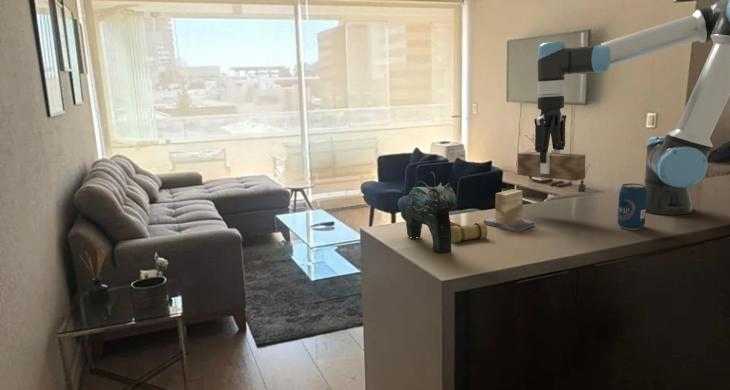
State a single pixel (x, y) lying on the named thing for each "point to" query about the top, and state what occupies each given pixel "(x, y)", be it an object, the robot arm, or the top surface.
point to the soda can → (632, 206)
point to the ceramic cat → (431, 213)
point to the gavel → (467, 232)
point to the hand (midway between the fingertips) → (550, 171)
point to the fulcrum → (509, 212)
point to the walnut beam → (553, 165)
